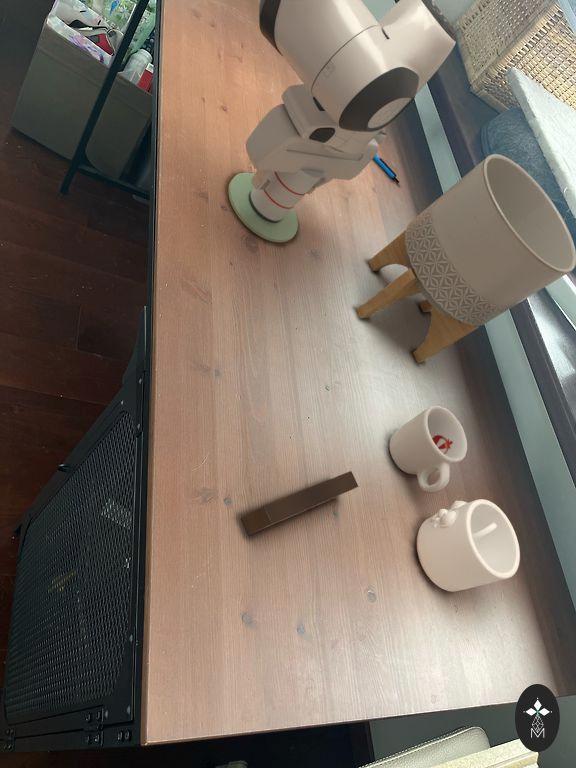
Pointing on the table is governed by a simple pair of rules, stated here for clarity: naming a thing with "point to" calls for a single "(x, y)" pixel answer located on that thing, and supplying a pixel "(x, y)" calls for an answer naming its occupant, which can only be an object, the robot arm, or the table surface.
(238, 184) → the coaster
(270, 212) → the white striped cylinder
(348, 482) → the rail
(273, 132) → the robot arm
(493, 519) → the mug
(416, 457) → the cup
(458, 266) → the planter
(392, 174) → the pen
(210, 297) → the table surface
